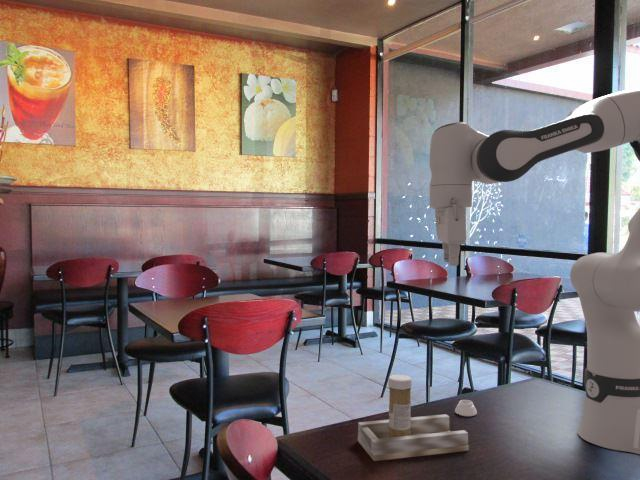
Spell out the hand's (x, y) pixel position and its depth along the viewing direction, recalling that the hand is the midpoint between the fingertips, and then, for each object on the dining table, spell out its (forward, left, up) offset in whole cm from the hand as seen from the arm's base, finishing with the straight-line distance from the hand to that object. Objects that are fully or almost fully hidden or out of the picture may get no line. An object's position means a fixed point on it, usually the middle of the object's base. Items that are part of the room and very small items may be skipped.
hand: (450, 263), depth 121 cm
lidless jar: (-9, -10, -37) cm, 39 cm away
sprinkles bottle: (+14, +5, -36) cm, 39 cm away
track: (+11, +5, -37) cm, 39 cm away
